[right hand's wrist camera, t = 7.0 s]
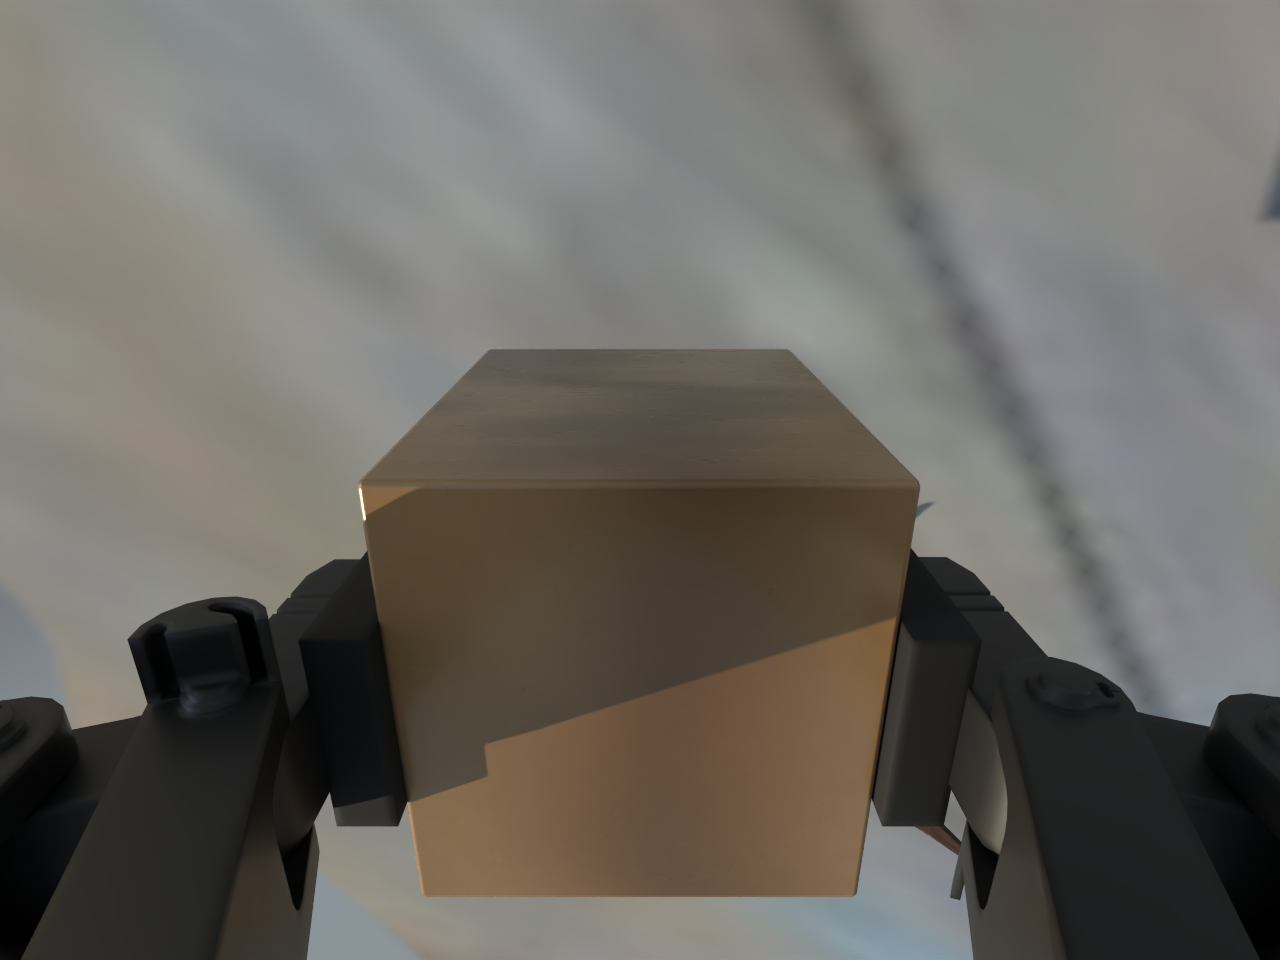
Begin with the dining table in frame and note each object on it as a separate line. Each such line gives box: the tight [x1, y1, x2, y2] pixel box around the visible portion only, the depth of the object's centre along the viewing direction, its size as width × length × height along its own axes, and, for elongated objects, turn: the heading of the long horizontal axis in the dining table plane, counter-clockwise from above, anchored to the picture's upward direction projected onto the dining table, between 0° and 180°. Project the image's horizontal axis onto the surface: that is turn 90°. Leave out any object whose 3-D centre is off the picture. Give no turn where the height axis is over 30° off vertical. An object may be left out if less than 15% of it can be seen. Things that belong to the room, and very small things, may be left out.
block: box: [358, 349, 920, 897], centre depth 12 cm, size 6×6×7 cm
